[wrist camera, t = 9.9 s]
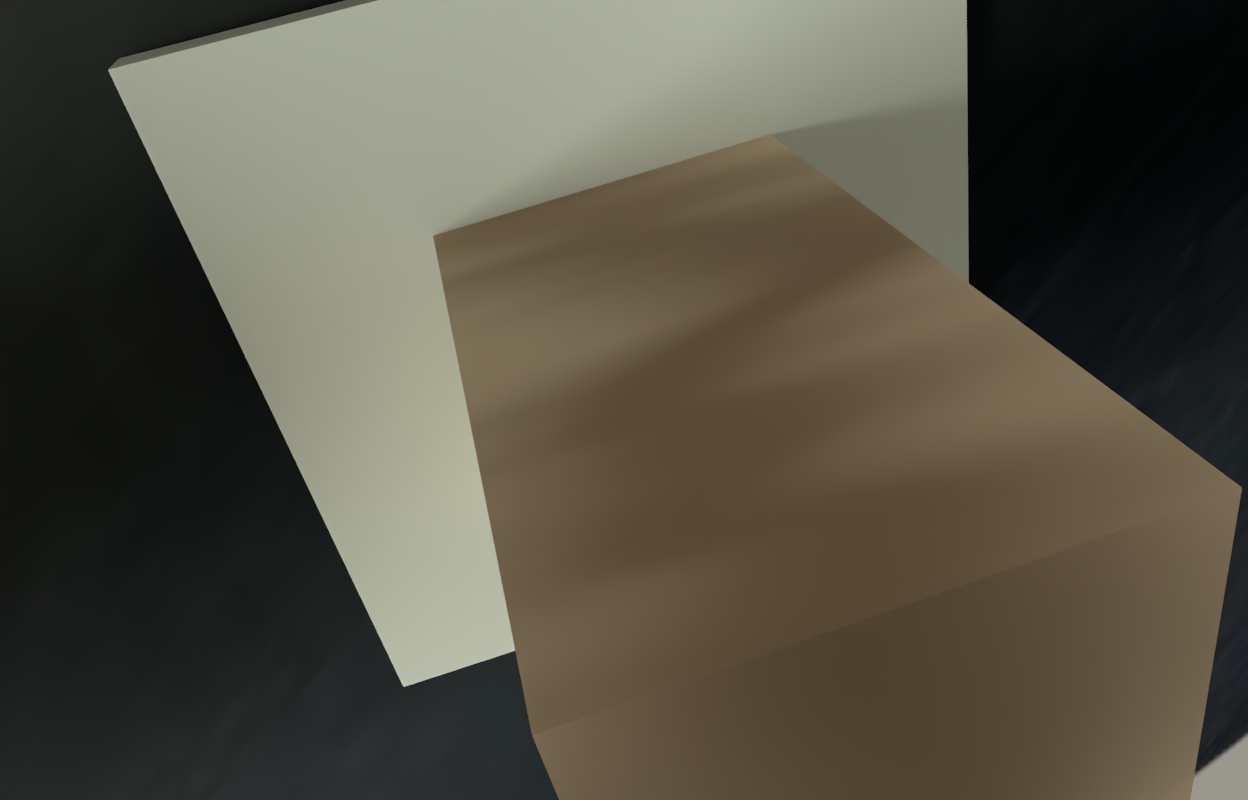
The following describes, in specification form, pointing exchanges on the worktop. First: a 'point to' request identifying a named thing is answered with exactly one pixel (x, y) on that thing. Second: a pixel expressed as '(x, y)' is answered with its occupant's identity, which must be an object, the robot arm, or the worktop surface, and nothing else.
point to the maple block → (819, 508)
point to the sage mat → (492, 212)
